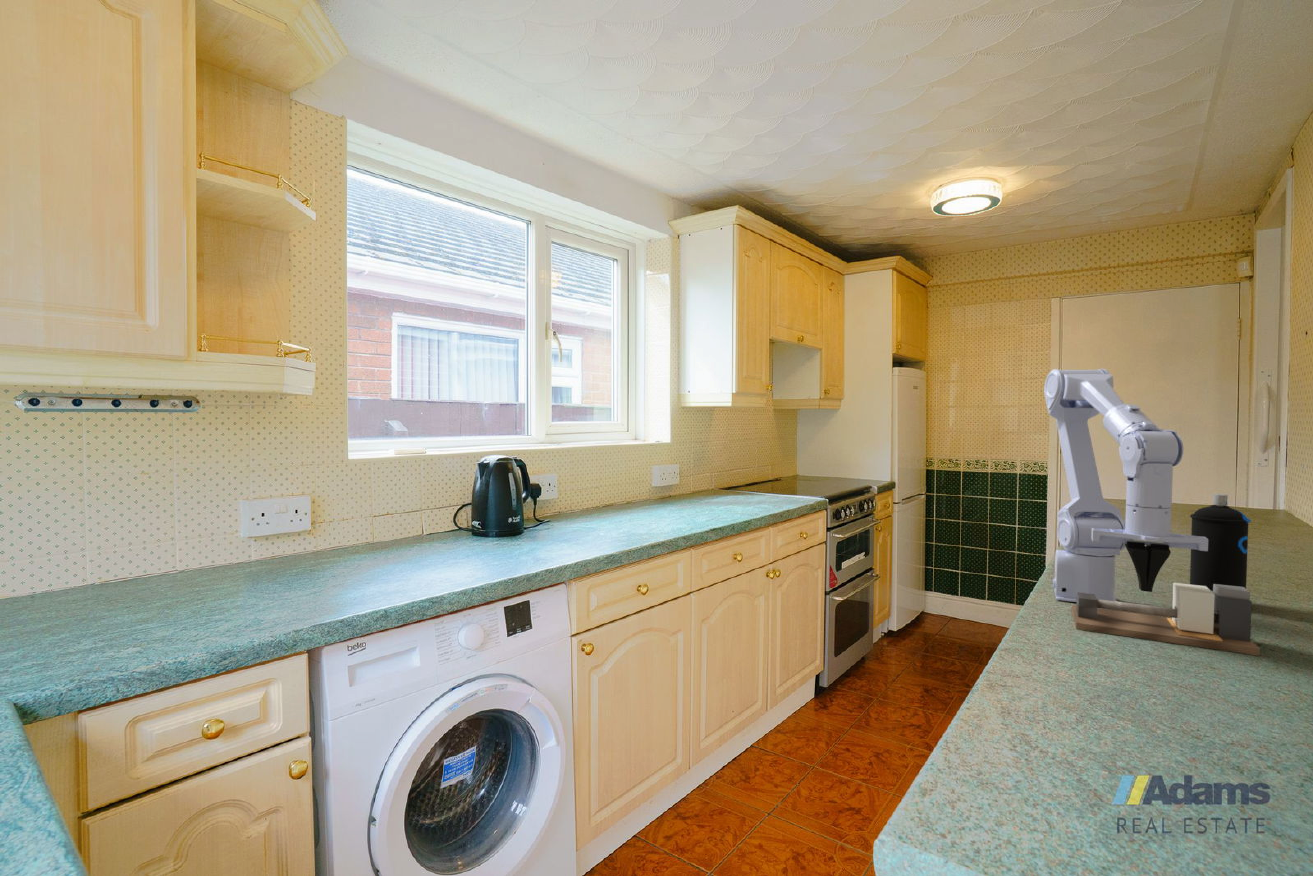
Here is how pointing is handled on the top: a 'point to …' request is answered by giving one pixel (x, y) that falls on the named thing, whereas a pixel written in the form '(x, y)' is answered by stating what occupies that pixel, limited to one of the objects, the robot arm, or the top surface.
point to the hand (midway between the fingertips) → (1145, 590)
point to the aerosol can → (1220, 545)
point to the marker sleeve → (1193, 607)
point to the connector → (1232, 612)
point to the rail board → (1147, 624)
